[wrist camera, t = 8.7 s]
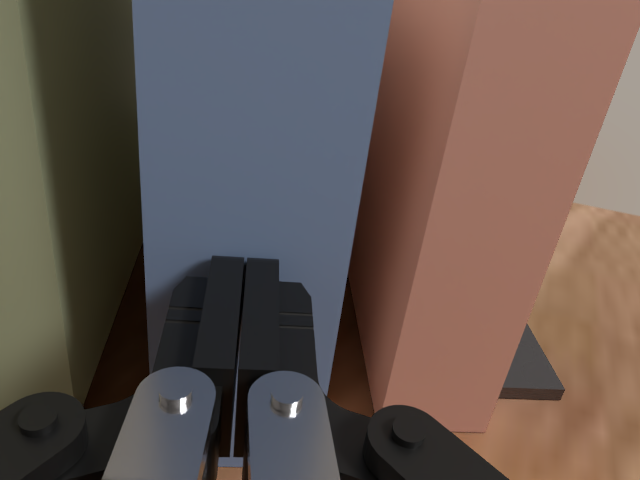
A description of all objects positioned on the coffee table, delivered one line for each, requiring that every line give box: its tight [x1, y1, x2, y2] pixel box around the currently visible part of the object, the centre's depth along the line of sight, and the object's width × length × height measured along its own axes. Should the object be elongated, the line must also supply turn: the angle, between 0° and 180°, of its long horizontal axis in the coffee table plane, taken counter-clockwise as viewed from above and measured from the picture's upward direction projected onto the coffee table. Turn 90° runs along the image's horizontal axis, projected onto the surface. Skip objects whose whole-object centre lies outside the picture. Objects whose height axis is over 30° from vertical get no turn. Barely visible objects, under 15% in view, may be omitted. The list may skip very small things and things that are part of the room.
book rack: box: [0, 0, 640, 432], centre depth 19 cm, size 21×16×20 cm
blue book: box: [132, 0, 394, 467], centre depth 18 cm, size 5×16×22 cm, turn 3°
